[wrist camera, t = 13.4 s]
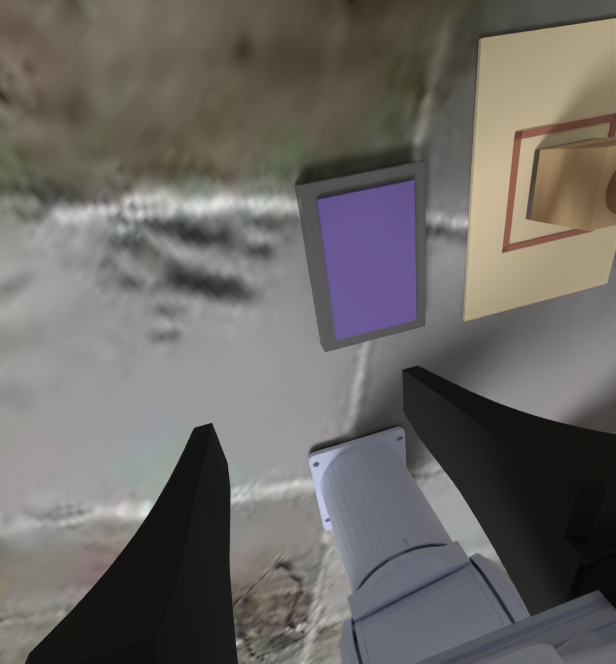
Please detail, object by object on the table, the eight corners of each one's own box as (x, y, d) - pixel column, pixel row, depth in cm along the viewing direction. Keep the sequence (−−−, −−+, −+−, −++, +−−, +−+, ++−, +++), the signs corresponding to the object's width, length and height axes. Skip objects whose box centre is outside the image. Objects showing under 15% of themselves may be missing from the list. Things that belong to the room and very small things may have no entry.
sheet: (604, 282, 27) (608, 284, 26) (462, 320, 25) (465, 322, 25) (674, 10, 19) (681, 8, 19) (478, 39, 18) (482, 37, 17)
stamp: (579, 206, 23) (695, 221, 17) (525, 219, 22) (628, 238, 17) (592, 138, 21) (728, 130, 15) (534, 149, 21) (653, 145, 15)
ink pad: (417, 319, 24) (427, 327, 23) (321, 344, 23) (326, 354, 22) (416, 161, 19) (428, 160, 18) (294, 184, 18) (299, 185, 17)
